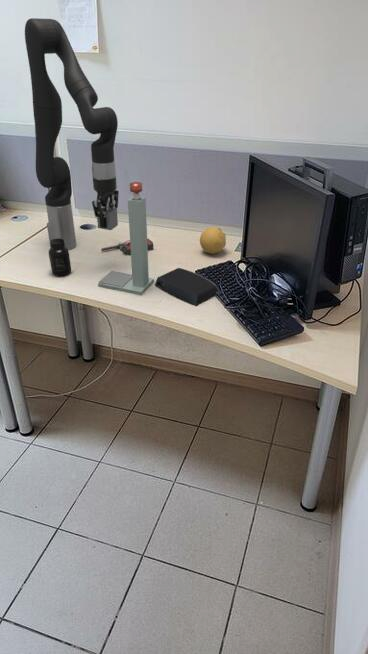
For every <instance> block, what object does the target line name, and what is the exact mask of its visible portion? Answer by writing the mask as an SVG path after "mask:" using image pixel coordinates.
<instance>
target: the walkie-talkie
mask: <svg viewBox="0 0 368 654" xmlns="http://www.w3.org/2000/svg"><path fill="white" fill-rule="evenodd" d="M147 248H148V252H150V251H153V250H154V242H153V241H152V240H151V239H150V238H148V237H147ZM114 249H119V250H120V251H121V252H122V253H123V255H126V256H131V247H130V239H129V240H125V241H123V242H119V243H118V244H116V245H113V246H107V247H103V248H101V250H100V251H101V252H104V251H109V250H110V251H111V250H114Z"/></svg>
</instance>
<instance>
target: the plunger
mask: <svg viewBox="0 0 368 654" xmlns="http://www.w3.org/2000/svg"><path fill="white" fill-rule="evenodd" d="M129 190H130V192H131V193H132V194H133V196H134V200H140V197H141V195H140V193H142V192H143V183H142V182H139V181H133V182H130V183H129Z"/></svg>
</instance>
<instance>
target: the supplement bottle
mask: <svg viewBox="0 0 368 654" xmlns="http://www.w3.org/2000/svg"><path fill="white" fill-rule="evenodd" d="M69 250H70V249H69ZM69 250H68V248H67V247H65V243H64V240H63V239H53V240H51V241H49V249H48V258H49V263H50V265H49V266H50V269H51V274H52V275H53V276H55V277H58V278H59V277H60V278H61V277H66V276H69V275H70V274H71V273H72V264H71V257H70V251H69Z"/></svg>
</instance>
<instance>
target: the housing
mask: <svg viewBox="0 0 368 654" xmlns="http://www.w3.org/2000/svg"><path fill="white" fill-rule="evenodd" d="M101 207H102V206H101ZM102 208H105V207H102ZM102 212H103V213H104V211H103V210H102ZM96 220H97V221H96V223H97V228H98V229H101V230H106V231H112V230H114V229H115V228H117V226H119V222H118V208H111V207H108V211H107V213H106V221H107V228H101V227H100V218H99V217H96Z"/></svg>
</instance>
